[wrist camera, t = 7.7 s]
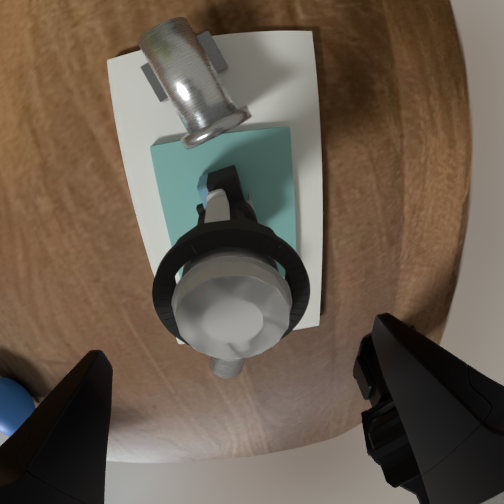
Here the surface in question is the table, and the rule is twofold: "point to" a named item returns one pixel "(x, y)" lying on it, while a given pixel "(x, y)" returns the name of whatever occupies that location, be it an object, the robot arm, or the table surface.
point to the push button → (230, 277)
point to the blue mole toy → (13, 405)
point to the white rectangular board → (231, 148)
